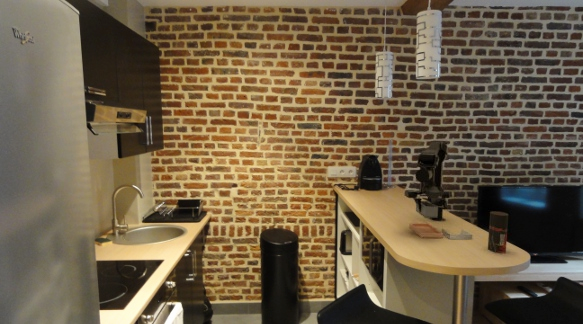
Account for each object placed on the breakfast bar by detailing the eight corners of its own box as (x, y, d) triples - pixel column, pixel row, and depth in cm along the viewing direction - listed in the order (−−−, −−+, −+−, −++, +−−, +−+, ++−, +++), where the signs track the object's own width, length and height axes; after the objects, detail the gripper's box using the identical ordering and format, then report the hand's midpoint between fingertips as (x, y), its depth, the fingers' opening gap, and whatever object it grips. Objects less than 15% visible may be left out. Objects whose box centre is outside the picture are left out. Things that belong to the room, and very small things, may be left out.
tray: (409, 227, 144) (409, 223, 144) (428, 227, 144) (428, 223, 144) (421, 238, 129) (421, 233, 129) (442, 238, 129) (443, 233, 129)
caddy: (415, 210, 141) (416, 200, 141) (427, 210, 141) (427, 200, 140) (425, 217, 130) (425, 206, 130) (437, 217, 130) (437, 206, 129)
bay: (441, 232, 136) (441, 228, 135) (462, 233, 135) (462, 229, 135) (449, 239, 128) (450, 234, 128) (472, 239, 127) (472, 234, 127)
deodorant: (498, 253, 112) (500, 216, 111) (484, 248, 118) (486, 212, 116) (509, 252, 114) (512, 214, 112) (495, 246, 119) (497, 210, 118)
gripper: (413, 182, 126) (412, 216, 128) (457, 182, 126) (455, 217, 127) (404, 178, 137) (403, 210, 139) (444, 178, 137) (443, 210, 138)
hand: (426, 211), depth 136 cm, fingers closed on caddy, 5 cm apart
